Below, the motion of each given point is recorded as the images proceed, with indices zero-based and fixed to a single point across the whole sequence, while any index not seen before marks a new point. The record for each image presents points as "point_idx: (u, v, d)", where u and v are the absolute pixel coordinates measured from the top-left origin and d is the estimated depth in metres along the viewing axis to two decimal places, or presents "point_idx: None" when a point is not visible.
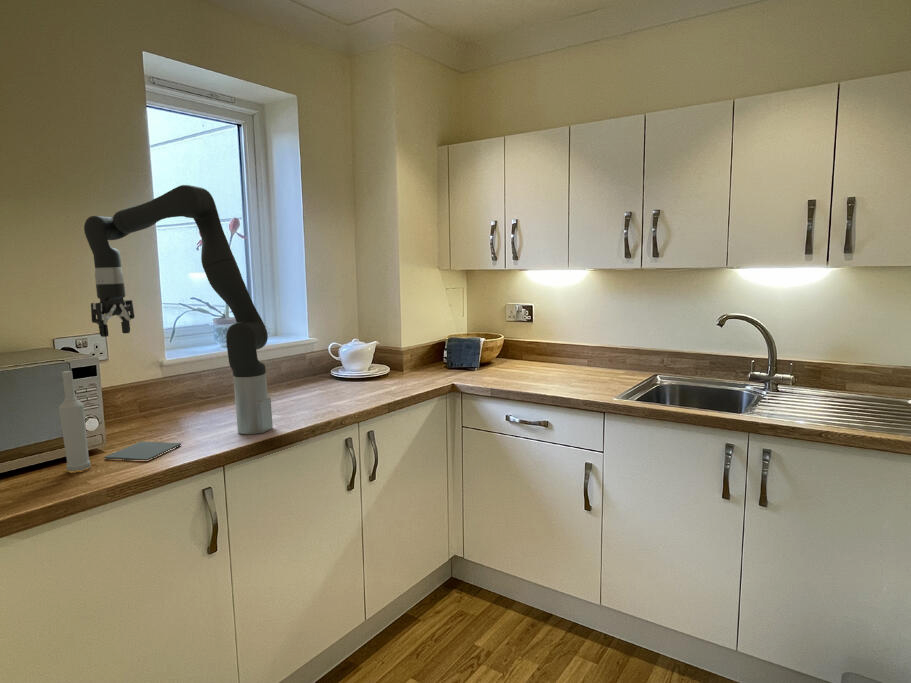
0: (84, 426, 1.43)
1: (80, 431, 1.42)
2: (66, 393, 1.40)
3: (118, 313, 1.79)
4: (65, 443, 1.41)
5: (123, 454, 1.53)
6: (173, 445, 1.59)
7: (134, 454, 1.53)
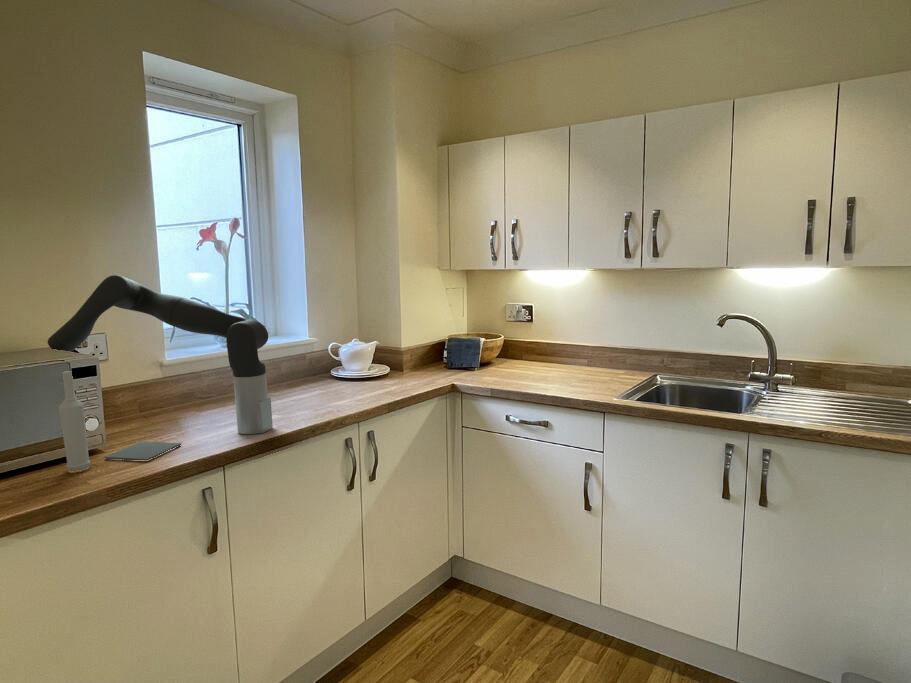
0: (84, 426, 1.43)
1: (80, 431, 1.42)
2: (66, 393, 1.40)
3: None
4: (65, 443, 1.41)
5: (123, 454, 1.53)
6: (173, 445, 1.59)
7: (134, 454, 1.53)
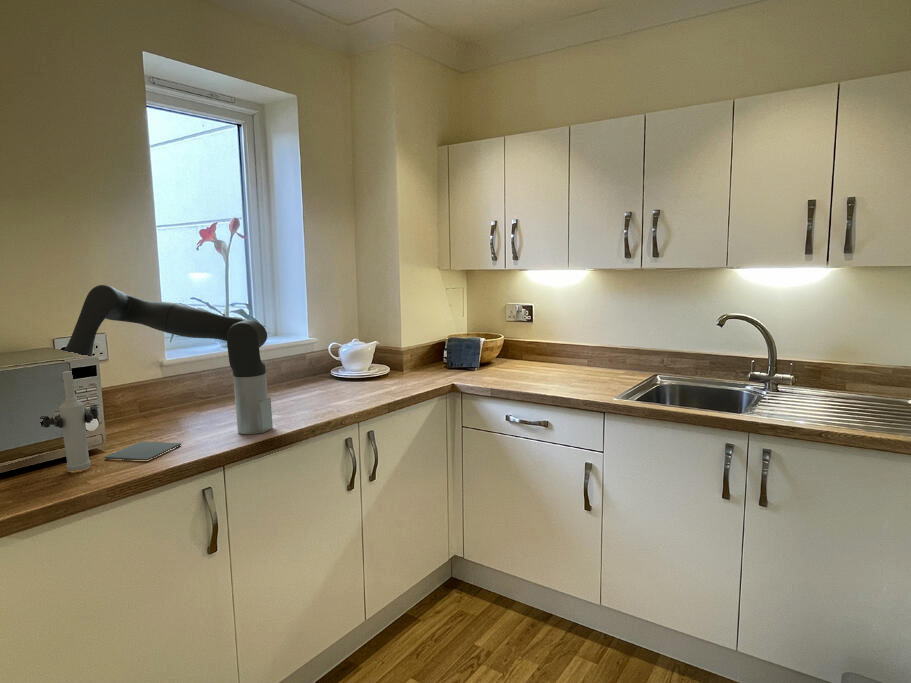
0: (84, 426, 1.43)
1: (80, 431, 1.42)
2: (66, 393, 1.40)
3: None
4: (65, 443, 1.41)
5: (123, 454, 1.53)
6: (173, 445, 1.59)
7: (134, 454, 1.53)
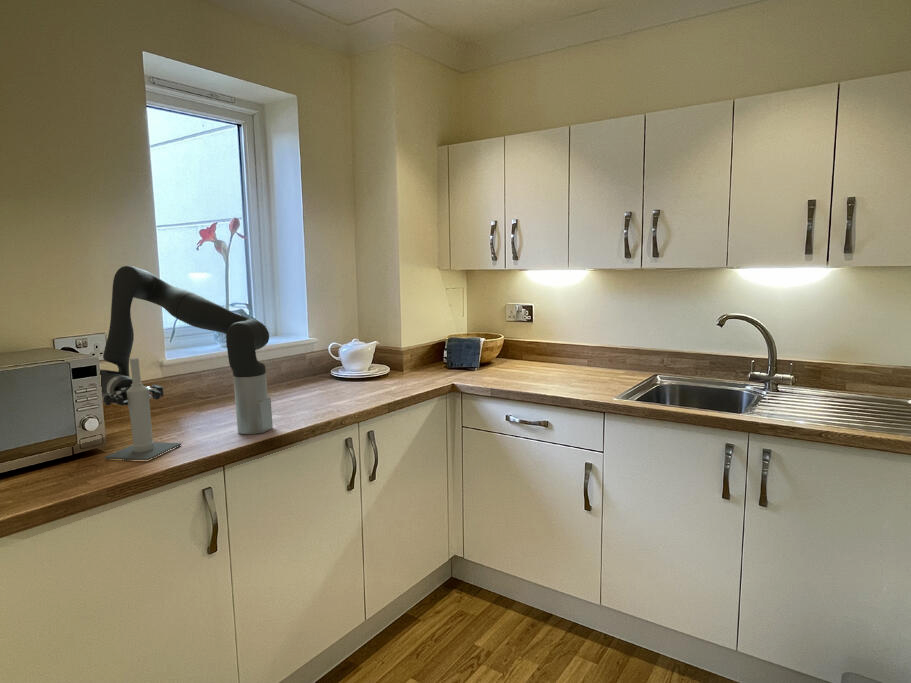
0: (149, 409, 1.55)
1: (146, 413, 1.54)
2: (133, 378, 1.53)
3: None
4: (132, 424, 1.53)
5: (123, 454, 1.53)
6: (173, 445, 1.59)
7: (134, 454, 1.53)
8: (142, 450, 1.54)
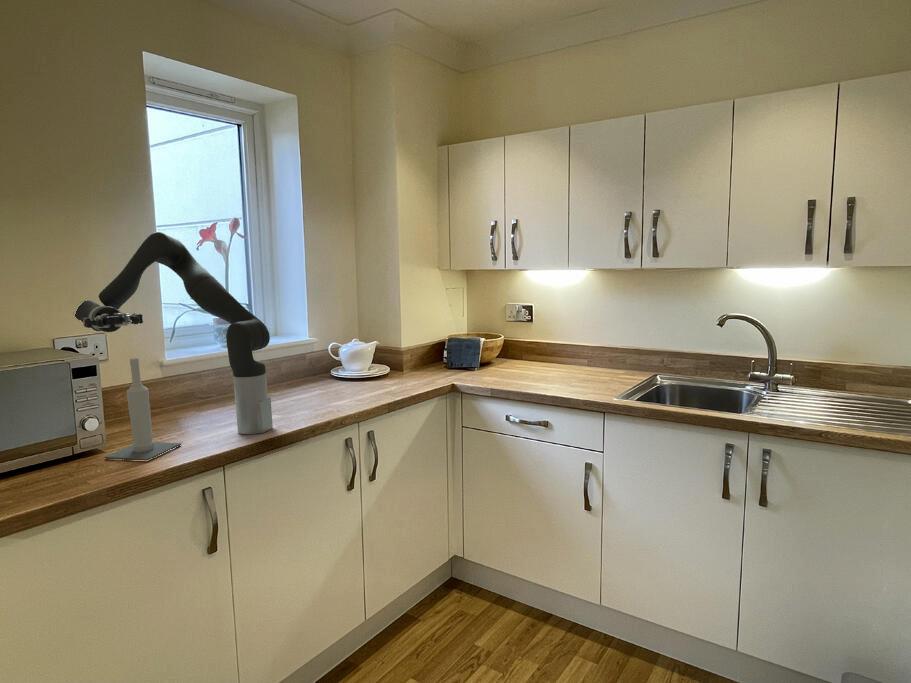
0: (149, 409, 1.55)
1: (145, 413, 1.54)
2: (133, 378, 1.53)
3: (116, 316, 1.65)
4: (132, 424, 1.53)
5: (123, 454, 1.53)
6: (173, 445, 1.59)
7: (134, 454, 1.53)
8: (142, 450, 1.54)
